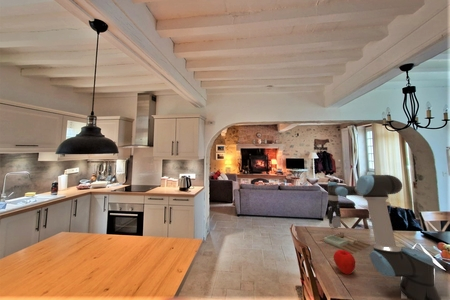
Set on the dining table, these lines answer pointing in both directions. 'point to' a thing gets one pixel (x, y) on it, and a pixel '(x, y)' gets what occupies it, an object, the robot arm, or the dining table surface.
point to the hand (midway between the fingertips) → (334, 226)
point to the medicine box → (336, 221)
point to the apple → (344, 261)
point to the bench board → (350, 245)
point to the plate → (351, 240)
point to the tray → (335, 240)
